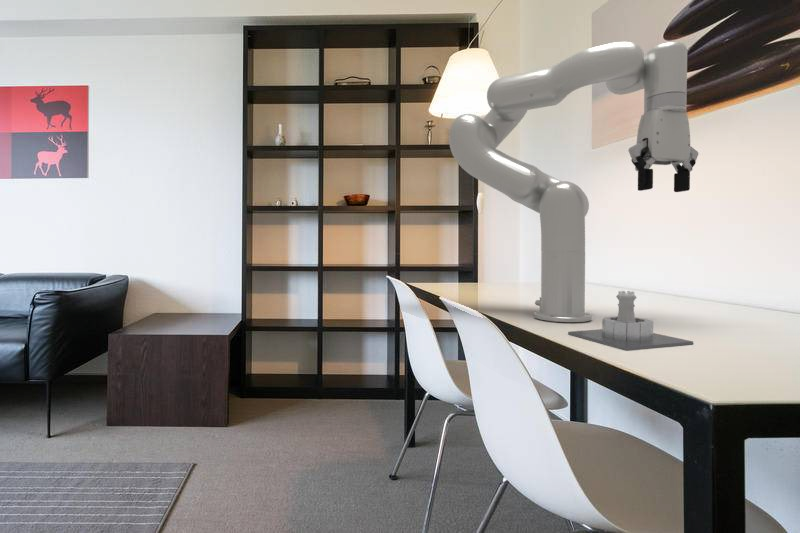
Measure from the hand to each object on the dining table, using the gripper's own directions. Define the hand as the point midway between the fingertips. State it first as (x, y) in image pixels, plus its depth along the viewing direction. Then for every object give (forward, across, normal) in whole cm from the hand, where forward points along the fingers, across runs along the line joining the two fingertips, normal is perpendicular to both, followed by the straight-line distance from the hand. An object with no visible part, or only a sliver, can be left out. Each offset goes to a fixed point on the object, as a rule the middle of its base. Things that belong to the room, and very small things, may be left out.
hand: (663, 190), depth 90 cm
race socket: (+28, +18, +9) cm, 35 cm away
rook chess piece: (+28, +18, +9) cm, 34 cm away
